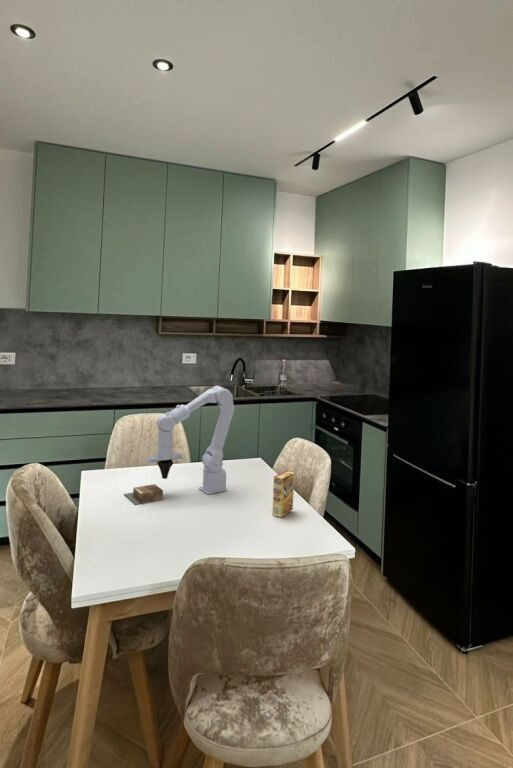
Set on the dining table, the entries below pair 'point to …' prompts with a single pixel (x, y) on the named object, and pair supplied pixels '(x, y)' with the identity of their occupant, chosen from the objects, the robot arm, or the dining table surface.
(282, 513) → the candy box
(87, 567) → the dining table surface
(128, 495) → the rubber mat
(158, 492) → the walnut slab
